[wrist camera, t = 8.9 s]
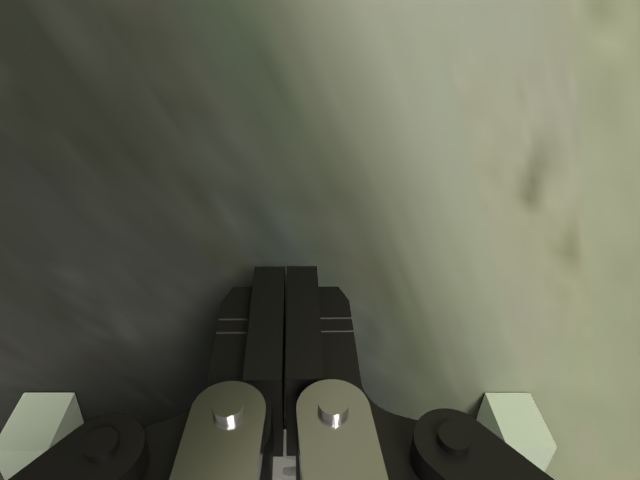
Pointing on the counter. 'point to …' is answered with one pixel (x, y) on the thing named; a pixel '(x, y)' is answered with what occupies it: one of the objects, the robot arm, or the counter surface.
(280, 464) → the mechanical component
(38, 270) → the counter surface
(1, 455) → the frame
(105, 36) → the counter surface
